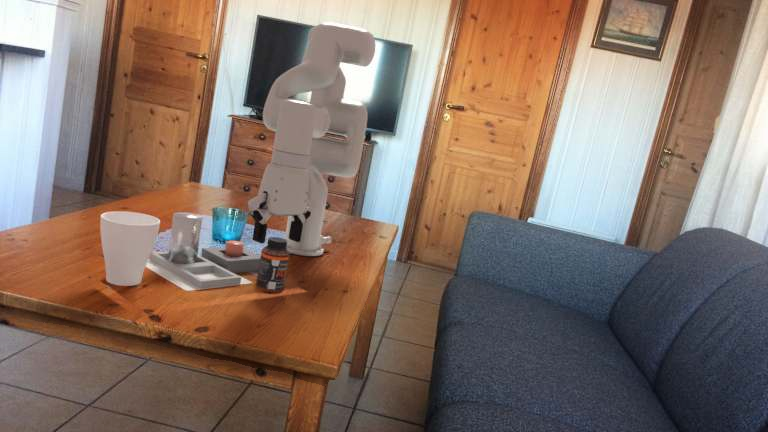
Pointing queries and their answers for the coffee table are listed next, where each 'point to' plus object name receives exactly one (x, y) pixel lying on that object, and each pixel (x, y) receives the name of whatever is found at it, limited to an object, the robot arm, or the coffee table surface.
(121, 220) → the cup
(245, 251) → the grey square block
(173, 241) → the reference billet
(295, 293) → the coffee table surface
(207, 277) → the tray
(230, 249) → the button
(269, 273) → the supplement bottle
